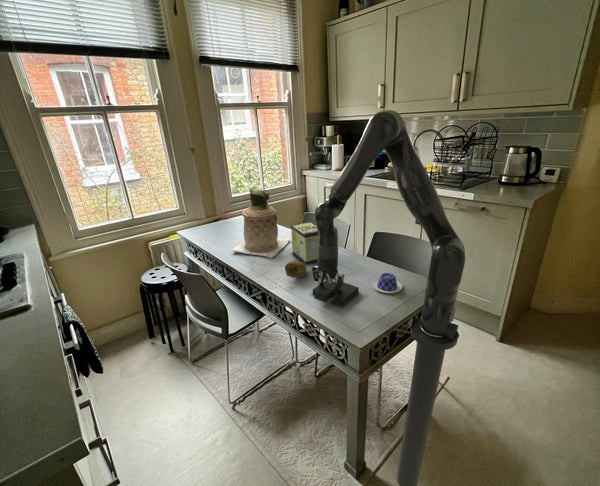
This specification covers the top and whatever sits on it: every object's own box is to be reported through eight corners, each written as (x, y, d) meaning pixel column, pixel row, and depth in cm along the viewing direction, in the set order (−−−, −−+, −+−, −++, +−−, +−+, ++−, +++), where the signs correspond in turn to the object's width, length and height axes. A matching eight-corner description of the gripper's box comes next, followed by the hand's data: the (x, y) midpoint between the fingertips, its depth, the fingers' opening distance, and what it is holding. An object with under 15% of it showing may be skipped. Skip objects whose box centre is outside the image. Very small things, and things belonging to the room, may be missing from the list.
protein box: (309, 249, 168) (309, 221, 162) (324, 260, 155) (324, 230, 149) (292, 253, 164) (290, 225, 158) (305, 264, 151) (304, 234, 145)
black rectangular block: (340, 291, 124) (340, 284, 123) (325, 302, 117) (325, 295, 116) (329, 287, 127) (329, 281, 126) (314, 298, 120) (314, 291, 119)
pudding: (391, 298, 123) (392, 286, 121) (366, 287, 131) (367, 275, 129) (407, 286, 130) (409, 275, 128) (382, 277, 138) (383, 266, 136)
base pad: (358, 292, 127) (358, 287, 126) (342, 306, 119) (342, 300, 118) (329, 282, 135) (329, 277, 134) (312, 294, 127) (312, 289, 126)
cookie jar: (274, 258, 159) (269, 196, 145) (231, 253, 166) (222, 193, 152) (290, 240, 180) (288, 184, 166) (251, 237, 187) (246, 182, 174)
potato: (314, 274, 142) (313, 258, 139) (292, 284, 135) (291, 267, 131) (301, 268, 148) (301, 253, 145) (280, 277, 140) (279, 261, 137)
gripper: (350, 255, 113) (348, 296, 120) (318, 246, 122) (318, 284, 129) (338, 263, 108) (337, 304, 115) (306, 253, 117) (307, 292, 124)
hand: (327, 293), depth 122 cm, fingers closed on black rectangular block, 5 cm apart
